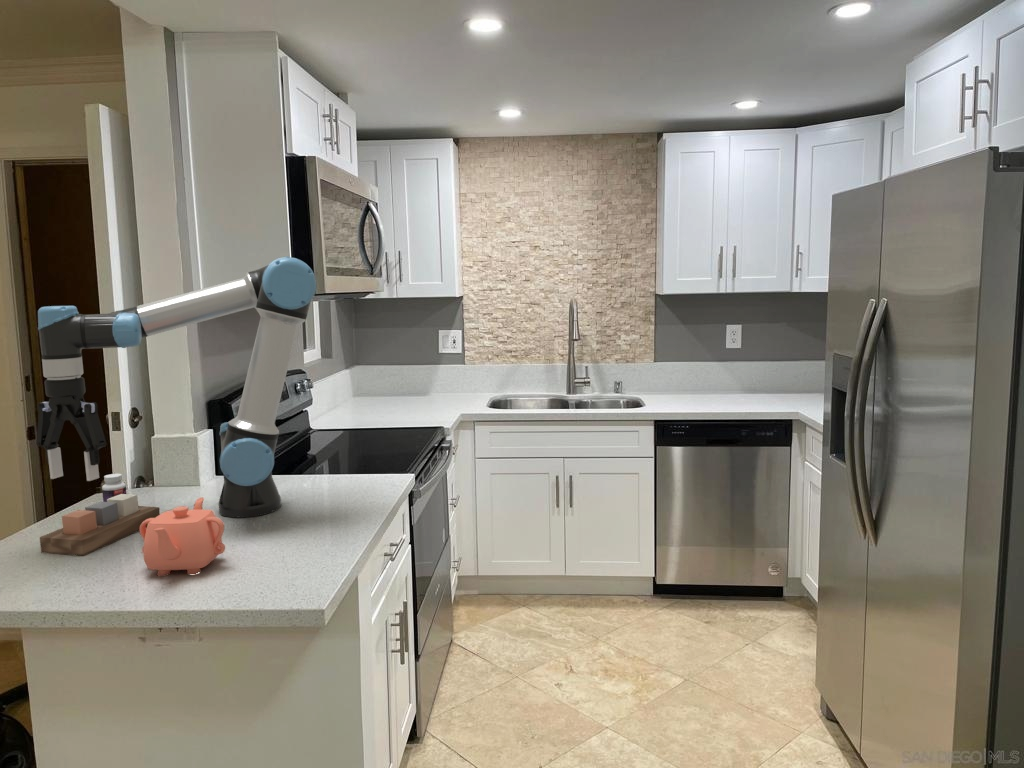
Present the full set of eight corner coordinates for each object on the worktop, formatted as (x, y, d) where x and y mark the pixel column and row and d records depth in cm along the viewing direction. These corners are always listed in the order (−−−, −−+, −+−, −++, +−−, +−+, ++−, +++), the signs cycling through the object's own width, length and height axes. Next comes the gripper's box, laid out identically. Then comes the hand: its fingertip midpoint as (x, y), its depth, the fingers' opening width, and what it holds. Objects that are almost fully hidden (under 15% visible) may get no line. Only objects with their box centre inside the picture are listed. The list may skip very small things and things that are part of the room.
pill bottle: (118, 516, 190) (114, 478, 189) (99, 515, 191) (95, 477, 190) (132, 509, 195) (129, 473, 194) (114, 508, 197) (111, 472, 195)
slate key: (119, 523, 177) (117, 502, 176) (103, 529, 172) (101, 508, 171) (102, 522, 178) (100, 501, 177) (87, 528, 173) (85, 507, 173)
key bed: (160, 521, 185) (159, 507, 185) (82, 556, 162) (81, 540, 162) (122, 518, 188) (121, 504, 188) (41, 552, 165) (39, 537, 165)
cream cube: (139, 514, 183) (137, 494, 182) (125, 520, 178) (123, 500, 178) (123, 513, 184) (121, 493, 183) (108, 519, 180) (106, 499, 179)
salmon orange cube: (97, 532, 170) (95, 511, 170) (81, 539, 166) (79, 517, 165) (80, 531, 172) (78, 509, 171) (64, 538, 167) (61, 516, 166)
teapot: (160, 589, 144) (154, 525, 142) (133, 566, 156) (128, 507, 154) (237, 568, 154) (232, 508, 152) (206, 547, 166) (202, 492, 164)
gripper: (119, 375, 165) (128, 476, 168) (38, 374, 170) (49, 471, 173) (92, 380, 157) (102, 485, 161) (8, 379, 163) (20, 480, 166)
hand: (74, 478), depth 167 cm, fingers open, 9 cm apart
